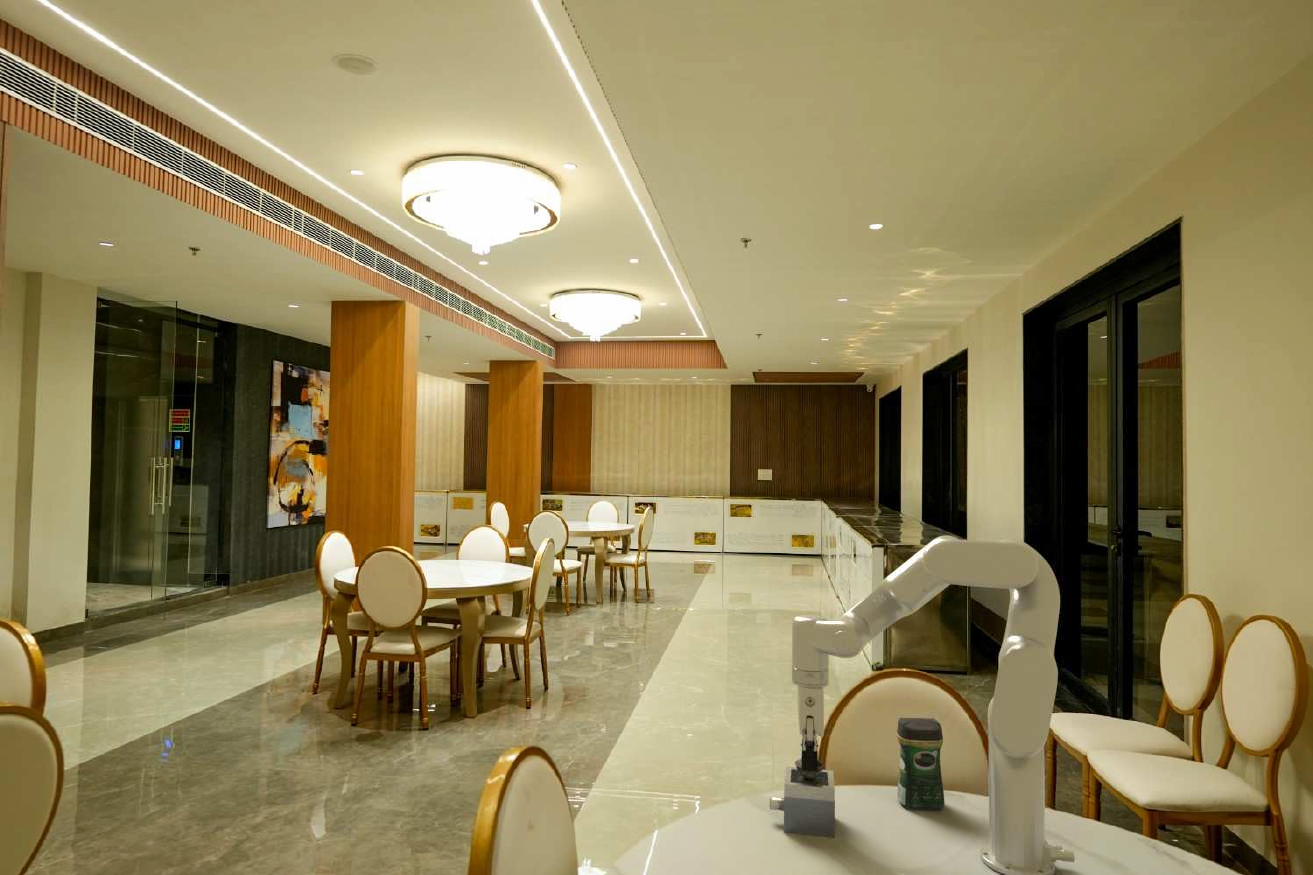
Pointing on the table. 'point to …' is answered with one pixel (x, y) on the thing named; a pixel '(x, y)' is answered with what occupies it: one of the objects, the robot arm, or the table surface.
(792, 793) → the grey open box
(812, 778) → the dark grey turned piece
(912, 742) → the coffee jar
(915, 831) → the table surface
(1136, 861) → the table surface
